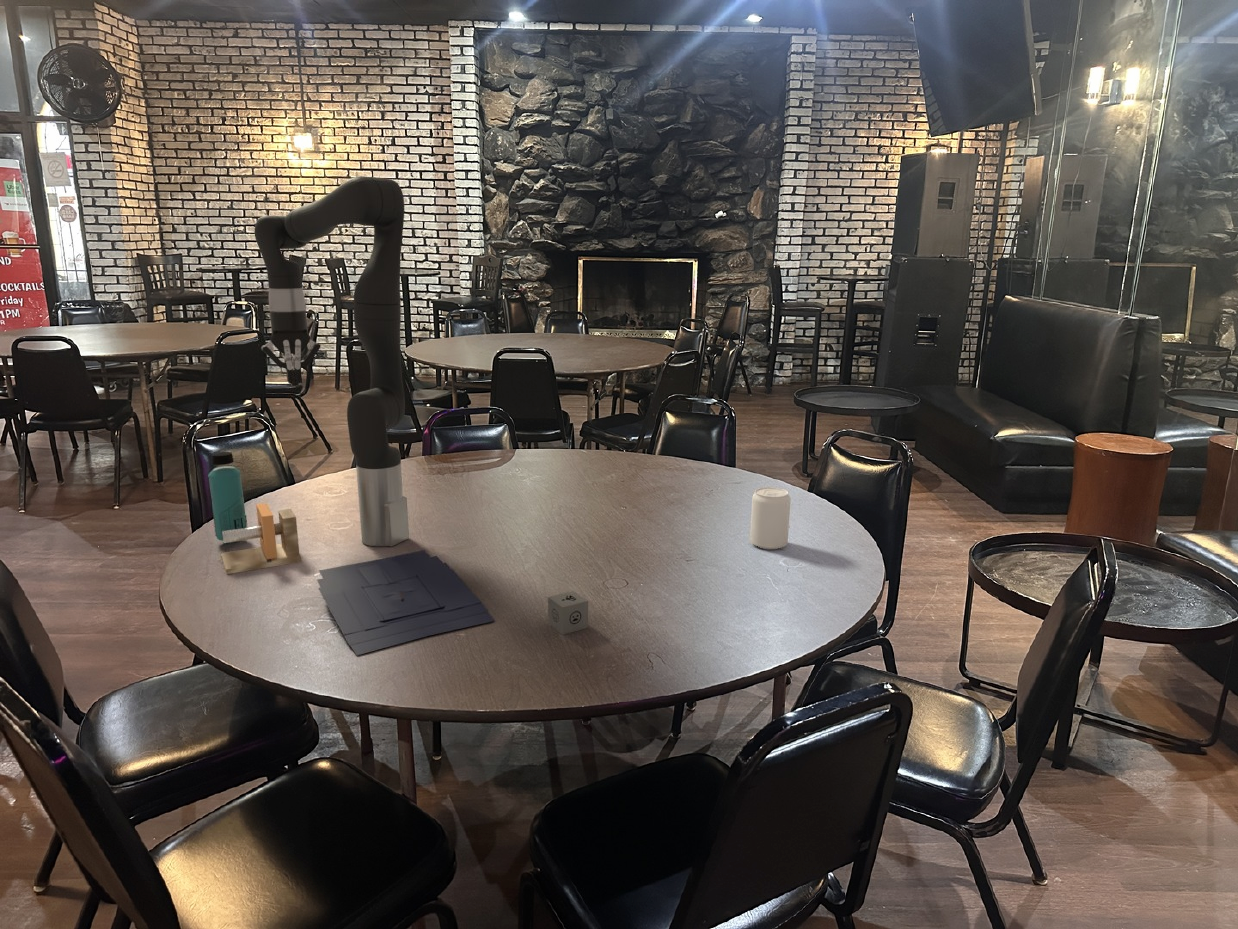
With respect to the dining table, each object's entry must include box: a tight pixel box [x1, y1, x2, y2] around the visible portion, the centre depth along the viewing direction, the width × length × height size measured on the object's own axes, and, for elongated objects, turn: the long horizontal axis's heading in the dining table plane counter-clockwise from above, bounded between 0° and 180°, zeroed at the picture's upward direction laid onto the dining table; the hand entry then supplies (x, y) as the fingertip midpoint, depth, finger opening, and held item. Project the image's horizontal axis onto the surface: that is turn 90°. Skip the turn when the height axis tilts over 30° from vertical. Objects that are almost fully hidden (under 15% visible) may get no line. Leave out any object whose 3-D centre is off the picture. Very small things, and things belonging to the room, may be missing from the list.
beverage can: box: [749, 486, 791, 550], centre depth 182 cm, size 8×8×12 cm
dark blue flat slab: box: [316, 549, 496, 656], centre depth 151 cm, size 24×30×4 cm
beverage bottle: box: [207, 451, 248, 542], centre depth 179 cm, size 6×7×20 cm
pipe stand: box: [220, 508, 303, 575], centre depth 171 cm, size 14×10×9 cm
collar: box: [255, 502, 277, 559], centre depth 171 cm, size 2×9×9 cm, turn 30°
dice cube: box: [547, 590, 589, 636], centre depth 143 cm, size 5×5×5 cm
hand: (294, 385), depth 192 cm, fingers closed
